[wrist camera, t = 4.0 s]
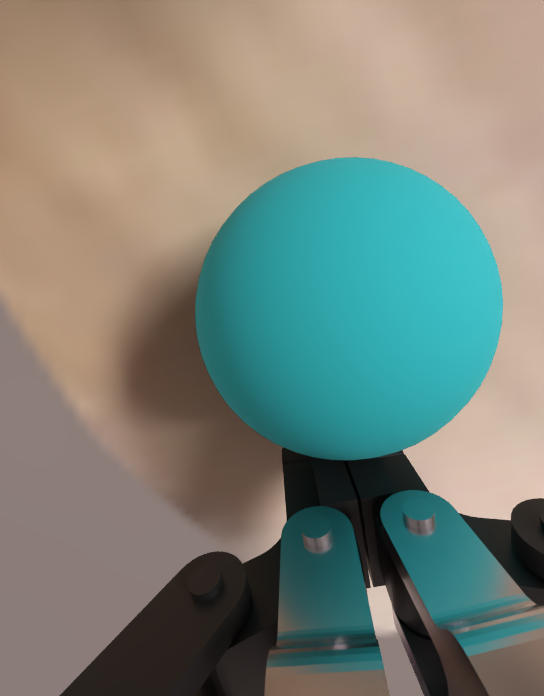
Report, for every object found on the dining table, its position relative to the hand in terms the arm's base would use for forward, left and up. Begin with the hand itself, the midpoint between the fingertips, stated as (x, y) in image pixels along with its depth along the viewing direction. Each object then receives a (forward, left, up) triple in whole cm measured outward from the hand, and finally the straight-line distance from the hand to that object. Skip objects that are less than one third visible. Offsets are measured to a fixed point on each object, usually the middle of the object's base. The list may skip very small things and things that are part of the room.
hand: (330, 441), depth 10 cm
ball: (-2, +4, +2) cm, 4 cm away
